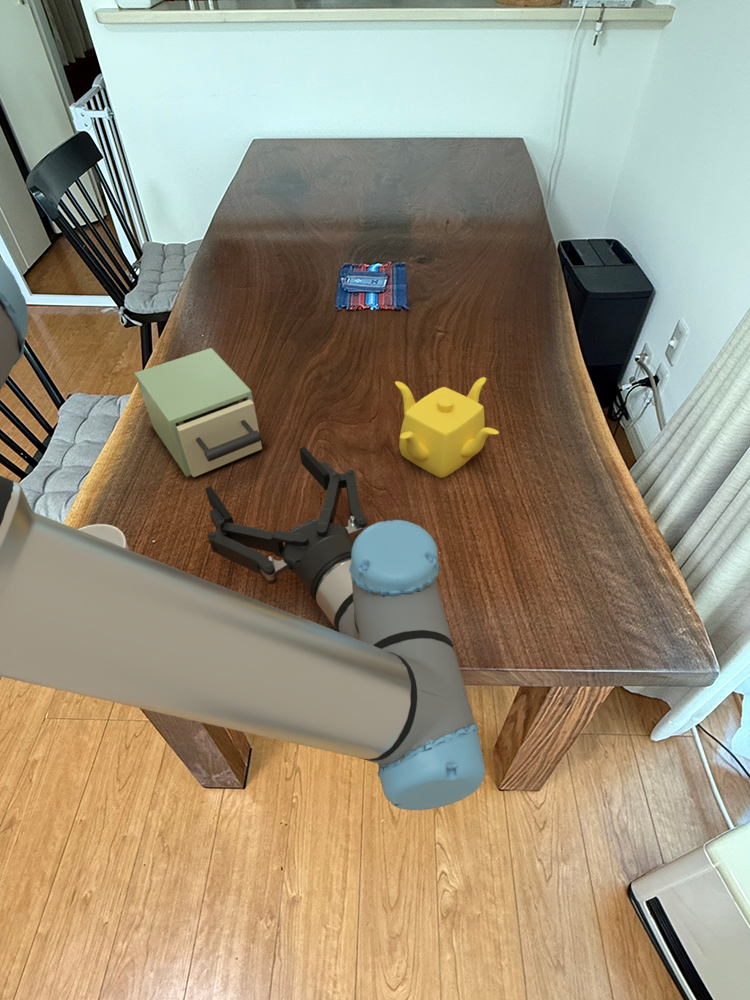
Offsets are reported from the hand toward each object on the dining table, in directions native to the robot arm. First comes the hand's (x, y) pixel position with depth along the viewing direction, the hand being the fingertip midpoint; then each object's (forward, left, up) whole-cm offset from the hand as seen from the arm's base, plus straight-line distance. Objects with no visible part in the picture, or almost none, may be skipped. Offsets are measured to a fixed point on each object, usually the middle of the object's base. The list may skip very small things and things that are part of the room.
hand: (257, 474), depth 79 cm
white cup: (-20, -11, -8) cm, 24 cm away
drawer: (-6, +15, -7) cm, 17 cm away
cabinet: (-7, +19, -7) cm, 22 cm away
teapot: (+28, +6, -8) cm, 30 cm away
